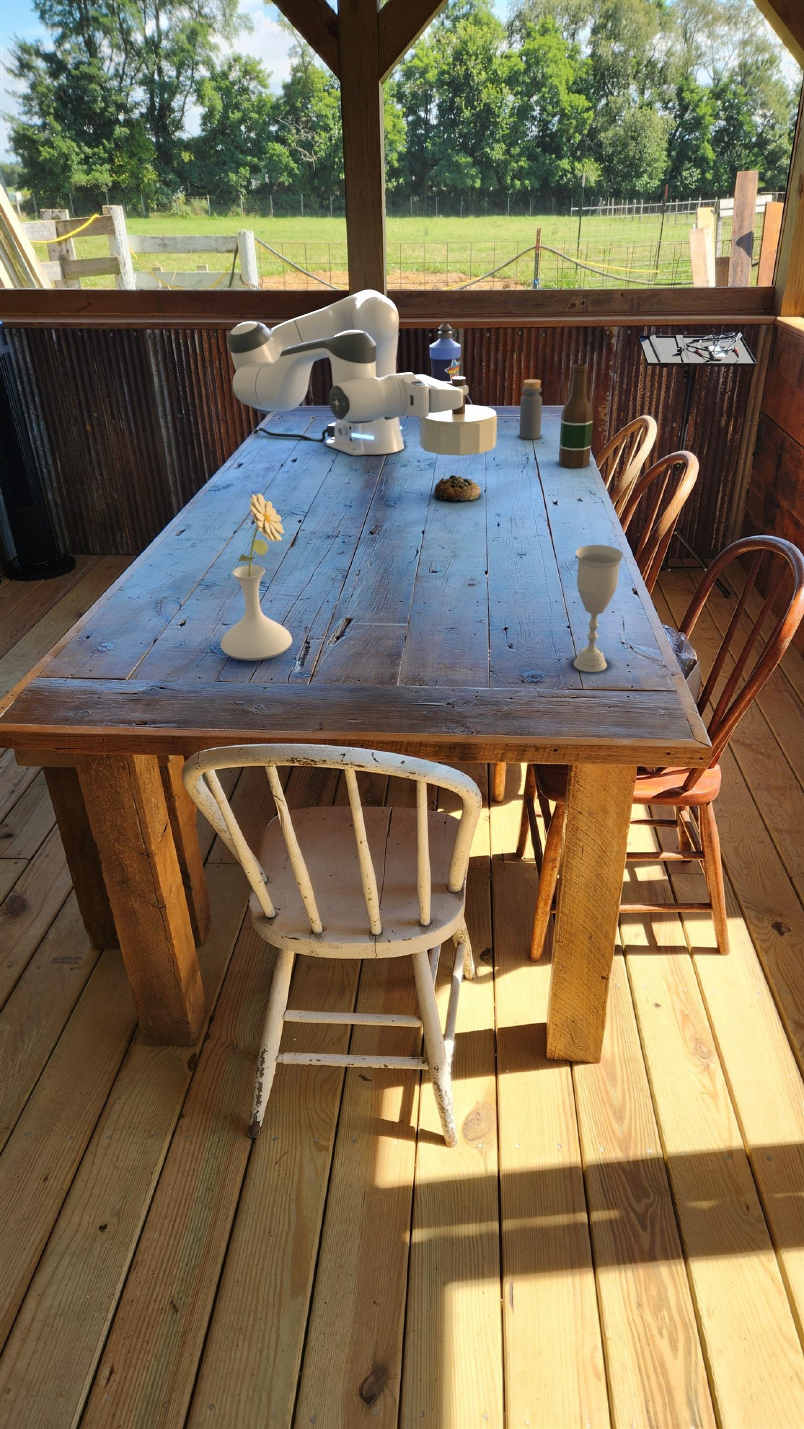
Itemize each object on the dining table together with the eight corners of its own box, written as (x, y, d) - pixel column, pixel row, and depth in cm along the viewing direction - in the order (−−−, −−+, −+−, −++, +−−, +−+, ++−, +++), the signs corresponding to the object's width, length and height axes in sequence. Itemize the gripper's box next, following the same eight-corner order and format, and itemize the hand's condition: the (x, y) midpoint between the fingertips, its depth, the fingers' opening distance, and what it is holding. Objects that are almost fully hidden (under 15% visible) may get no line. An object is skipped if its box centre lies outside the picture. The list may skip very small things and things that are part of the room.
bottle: (540, 434, 269) (542, 378, 262) (540, 439, 264) (543, 382, 257) (519, 434, 270) (521, 378, 262) (519, 439, 265) (521, 382, 257)
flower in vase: (262, 673, 148) (245, 516, 135) (206, 657, 153) (185, 504, 140) (313, 641, 157) (301, 491, 144) (259, 627, 162) (243, 481, 150)
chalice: (562, 655, 151) (570, 546, 142) (605, 652, 151) (615, 543, 142) (574, 676, 144) (582, 564, 135) (618, 674, 145) (629, 561, 136)
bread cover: (413, 452, 212) (412, 383, 205) (431, 434, 226) (431, 369, 218) (486, 456, 208) (488, 386, 201) (501, 437, 222) (503, 371, 214)
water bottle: (466, 409, 297) (467, 323, 285) (446, 415, 292) (446, 327, 279) (443, 405, 303) (443, 320, 290) (423, 410, 297) (422, 324, 285)
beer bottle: (591, 460, 245) (599, 362, 233) (586, 469, 238) (594, 368, 226) (561, 458, 247) (567, 361, 235) (555, 467, 241) (561, 367, 229)
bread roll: (423, 495, 222) (426, 473, 220) (454, 490, 230) (456, 469, 228) (460, 506, 216) (463, 484, 214) (490, 501, 224) (493, 479, 221)
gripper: (386, 400, 216) (441, 393, 221) (425, 419, 200) (484, 411, 204) (385, 371, 213) (441, 364, 217) (425, 387, 197) (484, 380, 201)
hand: (462, 387), depth 211 cm, fingers closed on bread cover, 3 cm apart
